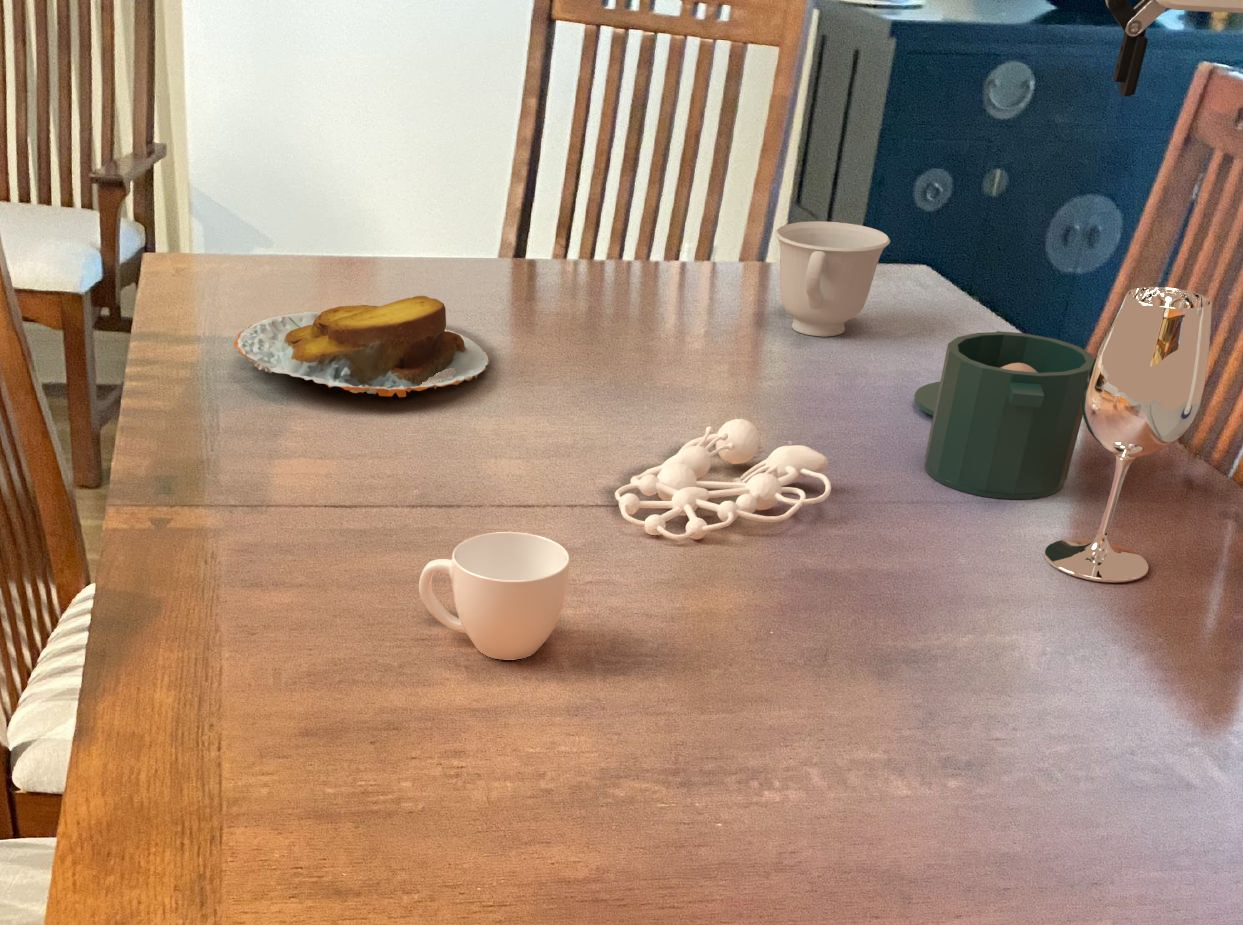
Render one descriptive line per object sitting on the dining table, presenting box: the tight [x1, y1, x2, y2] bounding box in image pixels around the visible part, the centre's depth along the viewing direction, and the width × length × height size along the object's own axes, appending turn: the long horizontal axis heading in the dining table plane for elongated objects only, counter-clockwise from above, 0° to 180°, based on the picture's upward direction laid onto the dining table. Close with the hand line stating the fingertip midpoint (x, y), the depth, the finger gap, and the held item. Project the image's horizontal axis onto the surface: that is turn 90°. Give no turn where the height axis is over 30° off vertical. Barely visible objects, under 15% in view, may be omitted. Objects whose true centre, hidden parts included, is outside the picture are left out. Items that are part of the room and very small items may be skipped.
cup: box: [418, 531, 571, 659], centre depth 101 cm, size 8×10×7 cm
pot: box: [924, 330, 1095, 500], centre depth 127 cm, size 12×17×10 cm
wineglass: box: [1043, 286, 1213, 584], centre depth 110 cm, size 8×8×20 cm
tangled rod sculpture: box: [614, 418, 832, 541], centre depth 122 cm, size 19×14×4 cm
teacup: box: [774, 220, 891, 338], centre depth 161 cm, size 12×15×10 cm
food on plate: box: [233, 295, 490, 398], centre depth 149 cm, size 25×25×7 cm
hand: (1194, 97), depth 112 cm, fingers open, 9 cm apart
